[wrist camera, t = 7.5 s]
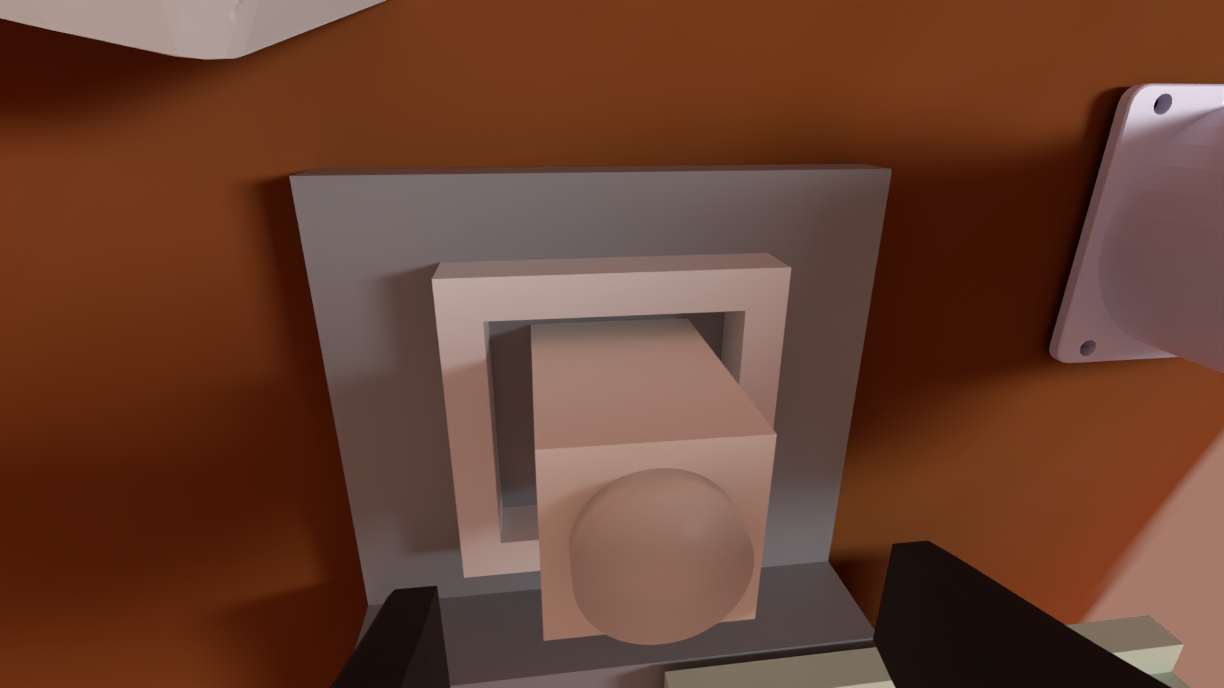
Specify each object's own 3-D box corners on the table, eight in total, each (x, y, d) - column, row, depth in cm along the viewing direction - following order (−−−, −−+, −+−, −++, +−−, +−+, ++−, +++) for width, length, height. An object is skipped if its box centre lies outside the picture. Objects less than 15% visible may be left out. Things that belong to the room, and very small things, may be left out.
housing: (861, 163, 16) (975, 183, 12) (778, 736, 24) (830, 865, 20) (311, 169, 15) (227, 195, 10) (416, 784, 23) (392, 936, 18)
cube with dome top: (687, 317, 16) (796, 460, 9) (680, 452, 17) (770, 653, 11) (530, 323, 15) (536, 478, 9) (537, 462, 17) (544, 679, 10)
